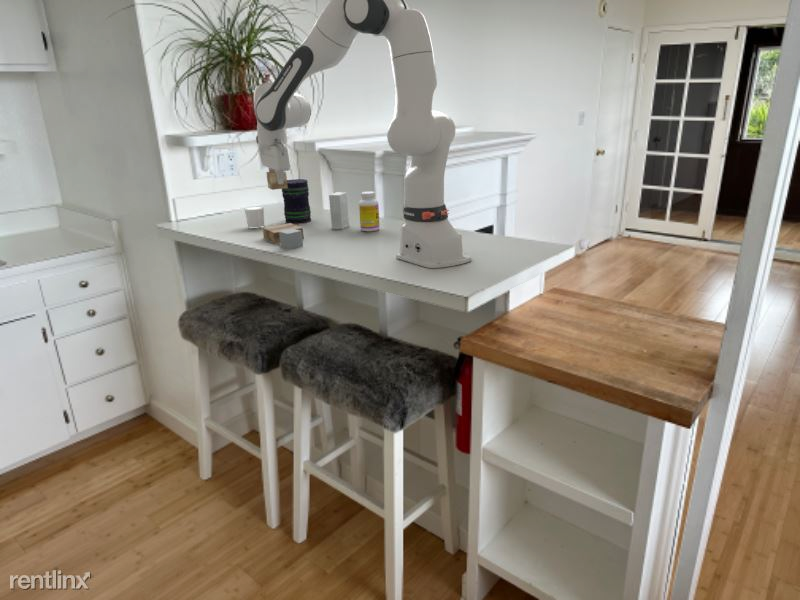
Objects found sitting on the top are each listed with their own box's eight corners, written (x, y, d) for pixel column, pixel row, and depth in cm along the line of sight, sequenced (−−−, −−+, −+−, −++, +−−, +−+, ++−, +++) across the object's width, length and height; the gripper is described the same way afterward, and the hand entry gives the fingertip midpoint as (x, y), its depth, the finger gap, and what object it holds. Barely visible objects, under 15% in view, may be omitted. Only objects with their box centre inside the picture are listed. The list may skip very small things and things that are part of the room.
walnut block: (303, 239, 187) (302, 227, 185) (275, 244, 181) (274, 232, 180) (291, 234, 194) (290, 223, 193) (263, 239, 189) (262, 227, 188)
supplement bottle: (379, 231, 192) (377, 193, 187) (359, 232, 192) (357, 194, 188) (380, 227, 198) (378, 190, 194) (361, 227, 198) (359, 191, 194)
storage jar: (282, 220, 216) (278, 180, 211) (307, 217, 219) (304, 178, 214) (288, 225, 207) (283, 184, 202) (314, 222, 211) (310, 181, 206)
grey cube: (302, 246, 177) (301, 230, 175) (289, 249, 174) (287, 233, 172) (294, 243, 181) (292, 228, 179) (280, 247, 177) (278, 231, 176)
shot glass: (261, 229, 203) (259, 209, 200) (243, 229, 204) (241, 209, 202) (268, 224, 209) (266, 206, 207) (251, 224, 210) (248, 206, 208)
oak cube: (287, 188, 181) (286, 172, 179) (272, 189, 179) (270, 173, 177) (283, 186, 185) (281, 170, 183) (268, 187, 183) (266, 172, 181)
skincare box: (338, 225, 204) (336, 191, 200) (349, 225, 202) (347, 192, 198) (331, 229, 199) (328, 194, 194) (342, 229, 197) (339, 195, 193)
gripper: (292, 139, 169) (296, 185, 174) (273, 136, 186) (278, 178, 191) (271, 140, 167) (277, 187, 171) (254, 137, 184) (259, 180, 189)
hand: (277, 182), depth 181 cm, fingers closed on oak cube, 5 cm apart
